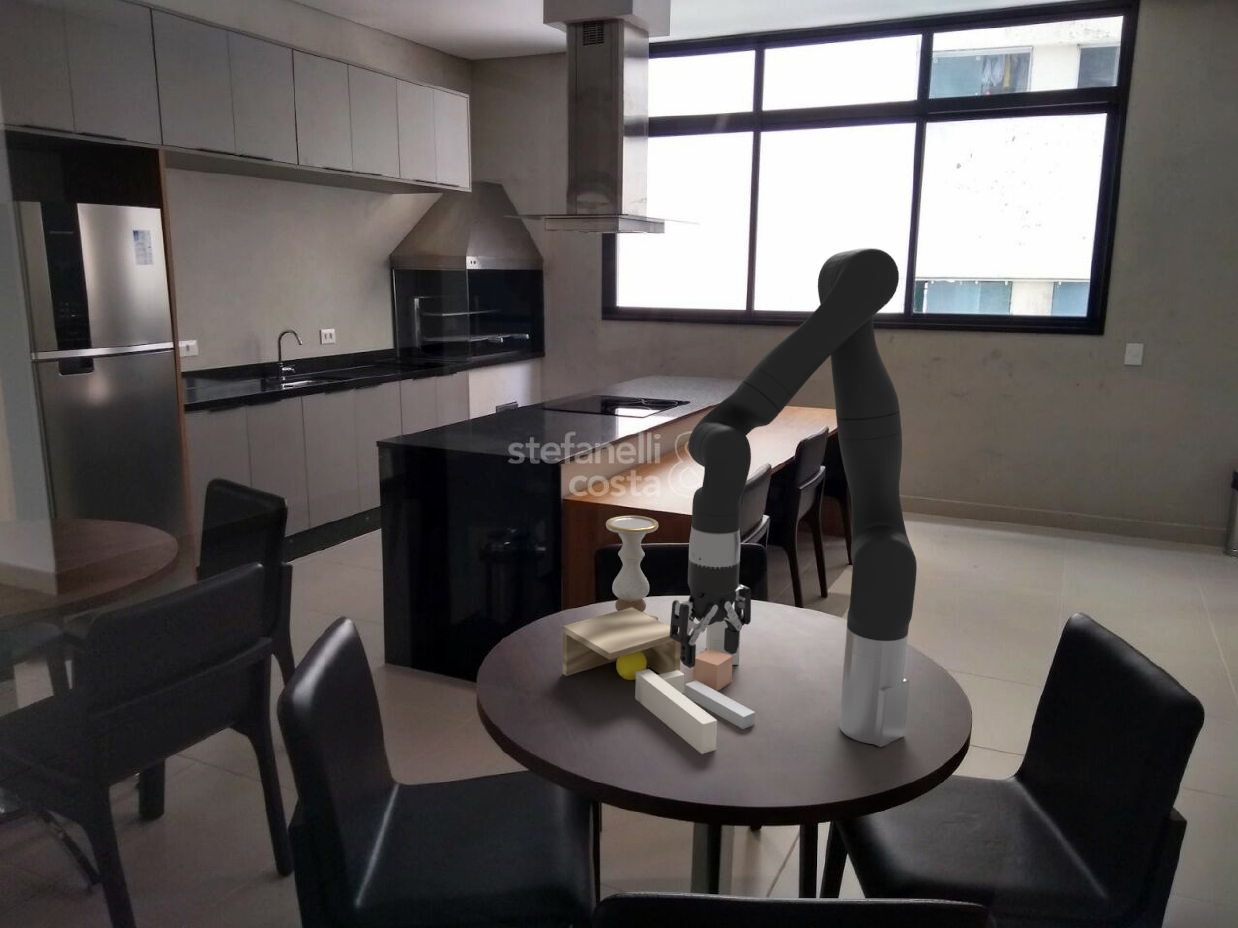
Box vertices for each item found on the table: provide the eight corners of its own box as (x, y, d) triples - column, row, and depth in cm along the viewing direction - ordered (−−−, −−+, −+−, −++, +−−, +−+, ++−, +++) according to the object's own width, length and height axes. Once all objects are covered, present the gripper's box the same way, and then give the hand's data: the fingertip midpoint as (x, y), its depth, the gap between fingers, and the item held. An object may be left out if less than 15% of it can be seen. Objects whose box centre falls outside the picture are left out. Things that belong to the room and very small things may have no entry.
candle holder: (595, 644, 172) (596, 527, 167) (611, 623, 182) (613, 512, 177) (649, 652, 169) (652, 532, 164) (663, 630, 179) (666, 517, 174)
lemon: (640, 689, 155) (639, 663, 153) (611, 684, 157) (610, 658, 155) (651, 668, 161) (651, 642, 159) (623, 663, 163) (623, 638, 161)
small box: (739, 665, 164) (741, 612, 161) (708, 665, 164) (711, 611, 162) (734, 647, 172) (736, 596, 169) (705, 647, 172) (707, 596, 169)
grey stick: (754, 726, 143) (755, 712, 142) (742, 731, 141) (743, 716, 140) (695, 693, 153) (696, 680, 153) (684, 697, 152) (685, 684, 151)
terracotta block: (731, 681, 157) (732, 655, 156) (716, 692, 153) (717, 665, 152) (707, 673, 160) (708, 648, 159) (692, 683, 156) (693, 657, 155)
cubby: (679, 679, 158) (681, 631, 156) (609, 704, 148) (610, 653, 146) (631, 652, 169) (632, 607, 167) (562, 673, 159) (562, 625, 157)
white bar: (747, 740, 138) (748, 711, 137) (701, 754, 133) (702, 724, 132) (677, 688, 155) (678, 661, 154) (635, 698, 151) (635, 671, 149)
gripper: (694, 572, 123) (690, 680, 126) (766, 555, 131) (761, 656, 135) (660, 558, 129) (657, 661, 132) (731, 542, 137) (727, 639, 141)
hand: (709, 658), depth 134 cm, fingers open, 8 cm apart
